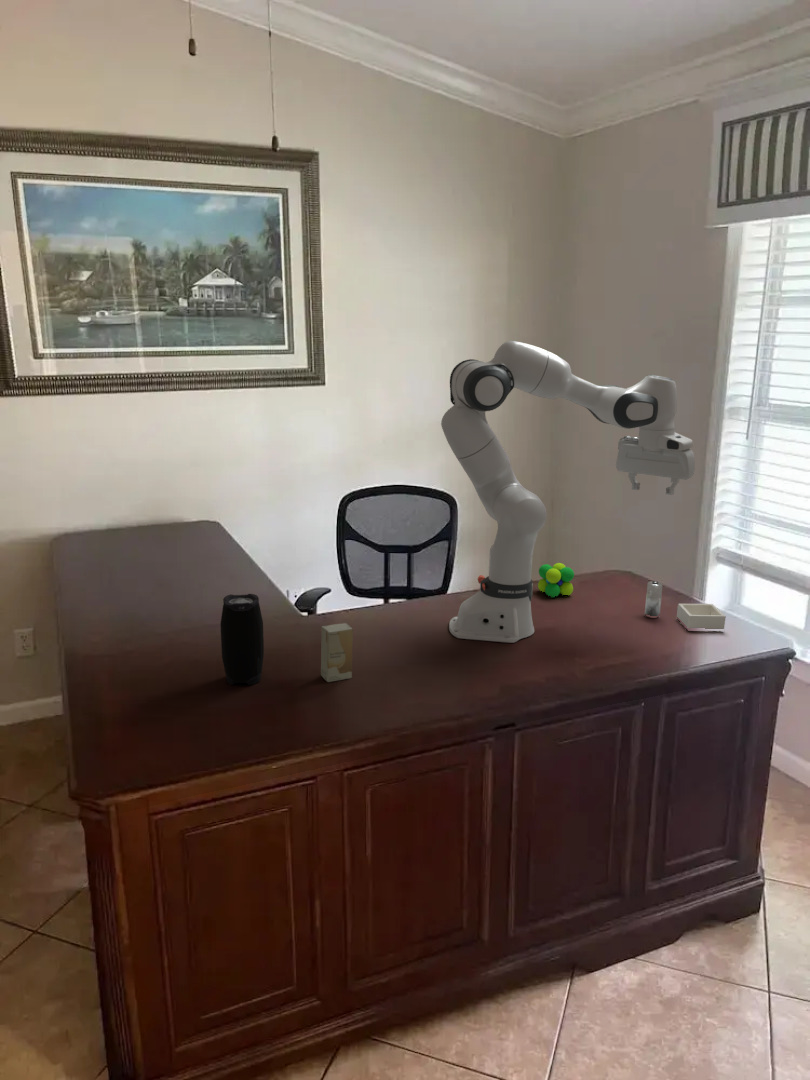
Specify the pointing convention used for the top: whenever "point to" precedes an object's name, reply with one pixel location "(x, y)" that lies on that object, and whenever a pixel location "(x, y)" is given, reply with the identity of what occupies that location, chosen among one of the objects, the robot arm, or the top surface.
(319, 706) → the top surface
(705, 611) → the cream square tray
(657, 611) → the cylinder
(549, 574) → the molecule model
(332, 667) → the skincare box
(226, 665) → the portable speaker
